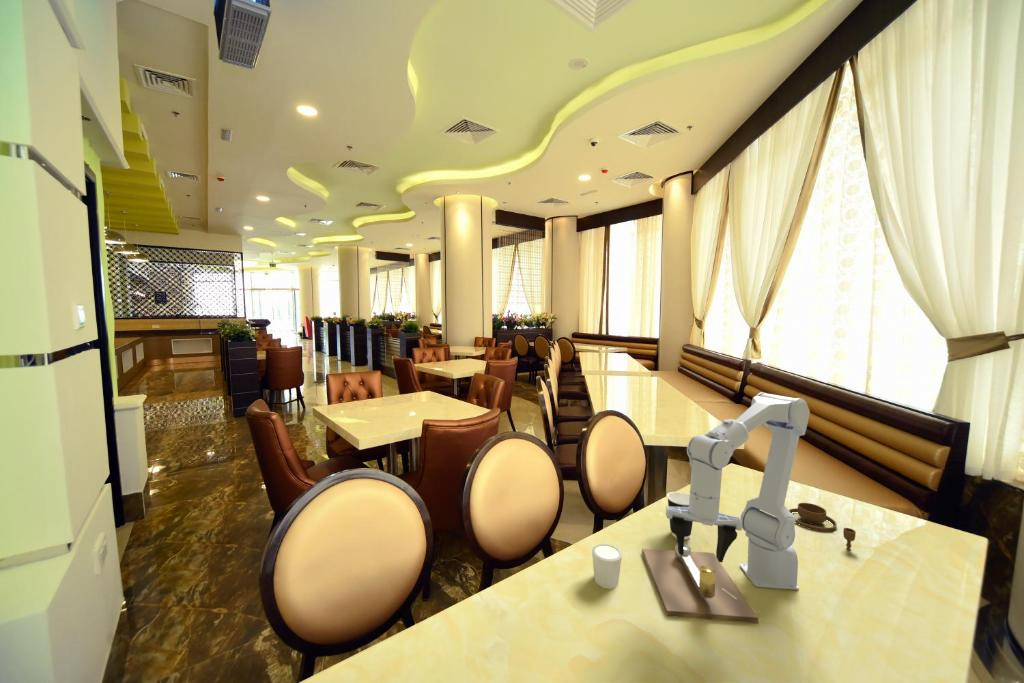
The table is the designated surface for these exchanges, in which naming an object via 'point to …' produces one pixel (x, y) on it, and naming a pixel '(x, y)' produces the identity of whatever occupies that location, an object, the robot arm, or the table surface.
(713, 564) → the bench base
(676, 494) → the dixie cup
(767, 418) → the robot arm
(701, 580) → the lever
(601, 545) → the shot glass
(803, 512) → the place setting
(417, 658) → the table surface
